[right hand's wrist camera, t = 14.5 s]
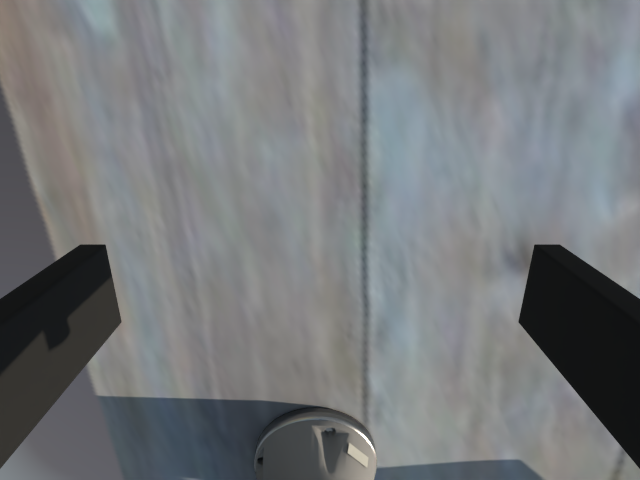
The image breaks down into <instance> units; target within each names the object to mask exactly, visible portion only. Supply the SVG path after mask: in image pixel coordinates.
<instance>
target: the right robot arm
mask: <svg viewBox="0 0 640 480" xmlns="http://www.w3.org/2000/svg"><path fill="white" fill-rule="evenodd" d="M120 323H121V317H120V313H119V308H118V303H117V298H116V293H115V289H114V284H113V279H112V274H111V269H110V264H109V260H108V255H107V250H106V245H79V246H78V247H76V248H75V249H73V250H72V251H70V252H69V253H67V254H66V255H64V256H63V257H61V258H60V259H59V260H57V261H56V262H54V263H53V264H51V265H50V266H48V267H47V268H45V269H44V270H42V271H41V272H39V273H38V274H36V275H35V276H33V277H32V278H31V279H29V280H28V281H26V282H25V283H23V284H22V285H20V286H19V287H17V288H16V289H14V290H13V291H11V292H10V293H9V294H7V295H6V296H4V297H3V298H1V299H0V468H1V467H2V466H3V465H4V463H5V462H6V461H7V460H8V459H9V457H10V456H11V455H12V454H13V453H14V451H15V450H16V449H17V448H18V446H19V445H20V444H21V443H22V442H23V440H24V439H25V438H26V437H27V436H28V434H29V433H30V432H31V431H32V430H33V428H34V427H35V426H36V425H37V423H38V422H39V421H40V420H41V419H42V417H43V416H44V415H45V414H46V413H47V411H48V410H49V409H50V408H51V407H52V405H53V404H54V403H55V402H56V401H57V399H58V398H59V397H60V396H61V395H62V393H63V392H64V391H65V390H66V388H67V387H68V386H69V385H70V384H71V382H72V381H73V380H74V379H75V378H76V376H77V375H78V374H79V373H80V372H81V370H82V369H83V368H84V367H85V366H86V364H87V363H88V362H89V361H90V359H91V358H92V357H93V356H94V355H95V353H96V352H97V351H98V350H99V349H100V347H101V346H102V345H103V344H104V343H105V341H106V340H107V339H108V338H109V336H110V335H111V334H112V333H113V332H114V330H115V329H116V328H117V327H118V326H119V324H120ZM519 323H520V324H521V326H522V327H523V328H524V329H525V330H526V332H527V333H528V334H529V335H530V336H531V338H532V339H533V340H534V341H535V343H536V344H537V345H538V346H539V347H540V349H541V350H542V351H543V352H544V353H545V355H546V356H547V357H548V358H549V359H550V361H551V362H552V363H553V364H554V366H555V367H556V368H557V369H558V370H559V372H560V373H561V374H562V375H563V376H564V378H565V379H566V380H567V381H568V382H569V384H570V385H571V386H572V387H573V388H574V390H575V391H576V392H577V393H578V395H579V396H580V397H581V398H582V399H583V401H584V402H585V403H586V404H587V405H588V407H589V408H590V409H591V410H592V411H593V413H594V414H595V415H596V416H597V418H598V419H599V420H600V421H601V422H602V424H603V425H604V426H605V427H606V428H607V430H608V431H609V432H610V433H611V434H612V436H613V437H614V438H615V439H616V440H617V442H618V443H619V444H620V445H621V447H622V448H623V449H624V450H625V451H626V453H627V454H628V455H629V456H630V457H631V459H632V460H633V461H634V462H635V463H636V465H637V466H638V467H639V468H640V299H639V298H637V297H636V296H634V295H633V294H632V293H630V292H629V291H627V290H626V289H624V288H623V287H621V286H620V285H618V284H617V283H615V282H614V281H612V280H611V279H609V278H608V277H607V276H605V275H604V274H602V273H601V272H599V271H598V270H596V269H595V268H593V267H592V266H590V265H589V264H587V263H586V262H584V261H583V260H581V259H580V258H579V257H577V256H576V255H574V254H573V253H571V252H570V251H568V250H567V249H565V248H564V247H562V246H561V245H534V250H533V255H532V260H531V264H530V269H529V274H528V279H527V284H526V289H525V293H524V298H523V303H522V308H521V313H520V317H519ZM254 468H255V473H256V478H257V480H374V478H375V474H376V470H377V459H376V452H375V446H374V442H373V439H372V437H371V435H370V433H369V432H368V431H367V429H366V428H365V427H364V426H363V425H362V424H361V423H360V422H358V421H357V420H356V419H354V418H353V417H351V416H349V415H347V414H344V413H342V412H339V411H335V410H331V409H325V408H306V409H300V410H295V411H292V412H289V413H287V414H284V415H282V416H280V417H279V418H277V419H275V420H274V421H273V422H271V423H270V424H269V425H268V426H267V427H266V428H265V430H264V431H263V432H262V434H261V436H260V438H259V440H258V443H257V448H256V454H255V460H254Z"/></svg>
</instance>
